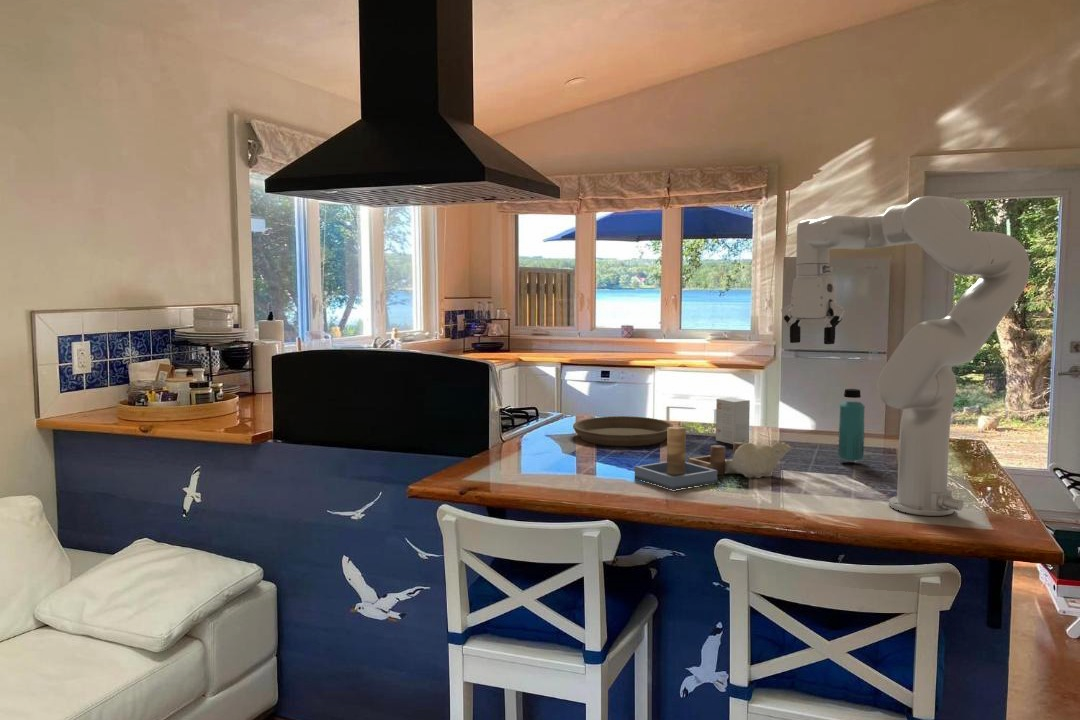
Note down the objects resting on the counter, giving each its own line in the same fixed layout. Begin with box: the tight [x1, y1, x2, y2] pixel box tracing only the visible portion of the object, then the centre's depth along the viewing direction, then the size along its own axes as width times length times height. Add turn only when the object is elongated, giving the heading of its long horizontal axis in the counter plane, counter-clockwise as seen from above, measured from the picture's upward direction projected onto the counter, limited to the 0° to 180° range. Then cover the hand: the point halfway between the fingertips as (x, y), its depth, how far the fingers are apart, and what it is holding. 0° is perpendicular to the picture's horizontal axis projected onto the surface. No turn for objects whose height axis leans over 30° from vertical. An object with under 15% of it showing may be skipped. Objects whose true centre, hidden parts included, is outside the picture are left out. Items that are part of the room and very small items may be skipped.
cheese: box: [725, 440, 792, 479], centre depth 200 cm, size 15×7×15 cm
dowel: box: [666, 426, 687, 476], centre depth 194 cm, size 4×4×12 cm
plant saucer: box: [572, 415, 674, 447], centre depth 251 cm, size 31×31×5 cm
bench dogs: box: [709, 442, 745, 476], centre depth 204 cm, size 4×12×7 cm, turn 122°
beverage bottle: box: [837, 388, 865, 461], centre depth 214 cm, size 6×7×20 cm
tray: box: [634, 461, 718, 490], centre depth 195 cm, size 14×14×3 cm
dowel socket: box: [688, 454, 728, 468], centre depth 210 cm, size 8×8×2 cm
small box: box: [715, 397, 751, 445], centre depth 244 cm, size 8×6×13 cm
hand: (811, 343), depth 194 cm, fingers open, 9 cm apart
